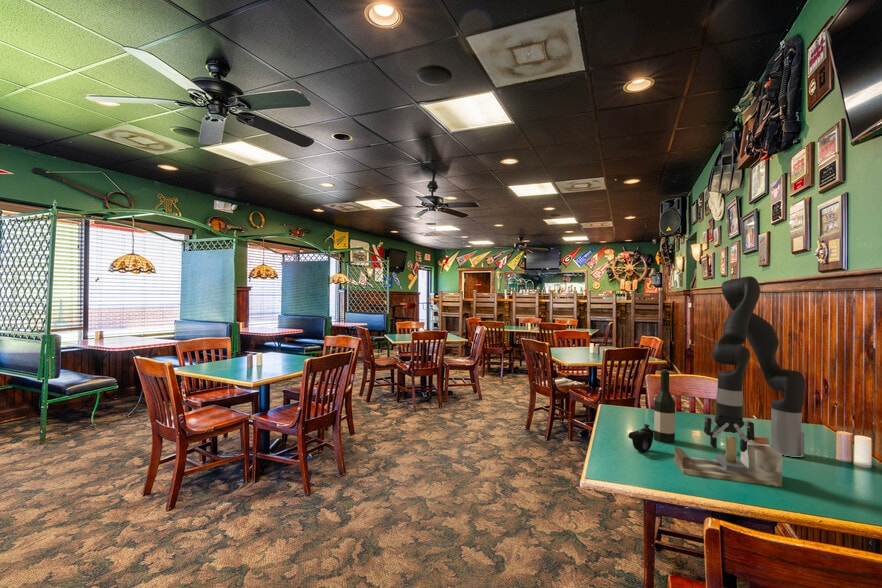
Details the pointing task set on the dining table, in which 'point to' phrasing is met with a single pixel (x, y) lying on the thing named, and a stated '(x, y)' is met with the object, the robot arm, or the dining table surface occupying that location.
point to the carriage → (731, 457)
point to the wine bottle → (664, 412)
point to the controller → (642, 438)
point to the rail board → (757, 459)
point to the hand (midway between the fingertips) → (728, 449)
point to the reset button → (761, 440)
